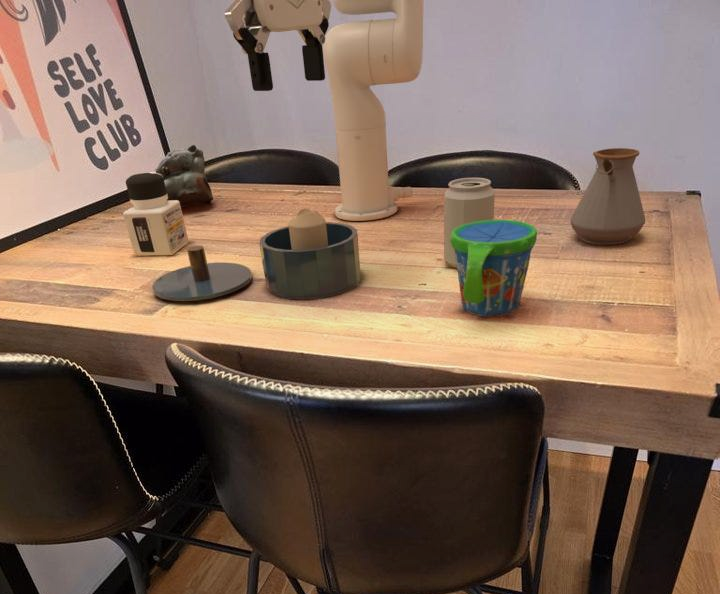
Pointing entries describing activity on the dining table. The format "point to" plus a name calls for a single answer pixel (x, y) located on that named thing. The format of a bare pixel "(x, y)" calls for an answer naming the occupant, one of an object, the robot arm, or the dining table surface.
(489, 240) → the snack cup
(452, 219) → the can
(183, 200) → the grey lumpy figure
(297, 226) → the candle
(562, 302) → the dining table surface
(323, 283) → the bowl
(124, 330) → the dining table surface
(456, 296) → the dining table surface
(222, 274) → the lid
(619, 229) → the coffee pot
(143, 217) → the container
